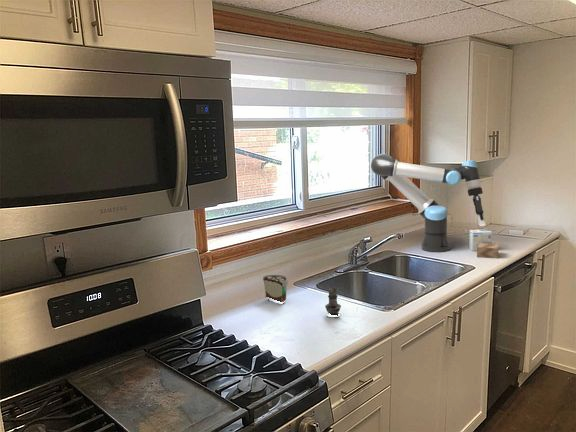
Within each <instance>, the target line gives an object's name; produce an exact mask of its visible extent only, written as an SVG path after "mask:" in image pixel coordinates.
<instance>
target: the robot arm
mask: <svg viewBox="0 0 576 432" xmlns="http://www.w3.org/2000/svg"><path fill="white" fill-rule="evenodd" d="M370 168H371V171H372V172H373V173H374V174H375V175H377V176H379V177H381V179H383V180H384V181H389V182H390V183H391V184H392V185H393V186H394V188H396V189H397V190H398V191H399V192H400V193H401V194H402V195H403V196H404V197H405V198H406V199H407V200H408V201H409V202H411V204H412V205H413V206H414V207H415V208H416V209H417V210H418V214H419V215H420V216H421V217H422V218H423V219H424V236H423V239H422V242H421V250H423V251H425V252H430V253H431V252H432V253H441V252H442V253H443V252H447V251H450V249H451V245H450V241H449V239H448V236H447V235H448V234H447V231H448V230H447V229H448V210H447V208H446V206H443V205H441V204H439V203H438V202H437V201H436V200H435V199H433V198H428V196H427V195H426V194H425V193H424V192H423V191H422V190H421V189H420V188H418V186H417V185H416V184H415V183H414V182H413V181H411V179H417V180H423V181H432V182H437V183H443V184H449V185H451V186H454V185H455V186H456V185H458V184H459V183H460V182H461V181H462V180H465V187H466V189H467V195H468V196H469V197H472V196H473V197H472V203H473V205H474V208H475V209H474V210H475V211H474V212H475V214H476V219H477V224H478V226H479V227H485V226H487V224H486V220H485V219H486V218H485V215H484V209H483V206H482V199H481V196H480V195H481V194H483V193H484V192H483V191H484V190H483V188H482V187H481V186H482V184H481V183H482V180H481V179H480V178H481V177H480V174H479V169H478V168H479V167H478V165H477V161H476V160H474V159H471V160H466V161H462V163H461V166H456V167H451V168H441V167H434V166H428V165H420V164H413V163H409V162H408V163H407V162H402V161H398V160H397V159H395V158H393V157H392V156H391V155H390V154H387V153H380V154H378V155H376V156H375V157H374V158H373V159H372V160H371V163H370Z"/></svg>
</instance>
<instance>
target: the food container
mask: <svg viewBox="0 0 576 432" xmlns="http://www.w3.org/2000/svg"><path fill="white" fill-rule="evenodd" d="M262 282H263V283H264V291H265V293H264V294H265V298H266V297H269V298H272V299H274V300H277V301H280V302H284V301H285V300H286V301H287V287H288V285H289V281H288V278H287V276H285V275H281V274H268V275H263V277H262Z"/></svg>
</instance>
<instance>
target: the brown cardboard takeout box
mask: <svg viewBox="0 0 576 432" xmlns="http://www.w3.org/2000/svg"><path fill="white" fill-rule="evenodd" d="M476 258H486V259H487V258H488V259H498V258H499V244H498V243H492V244H488V243H478V246H477V251H476Z"/></svg>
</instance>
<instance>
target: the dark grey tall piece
mask: <svg viewBox="0 0 576 432" xmlns="http://www.w3.org/2000/svg"><path fill="white" fill-rule="evenodd" d="M337 294H338V293H337V288H336V287H335V286H334V285H333V284H331V286H330V287H329V288H328V296H327V298H328V303H327V304H325V305H324V306H325V309H326V312H327V313H330V314H331V315H337V316H338V314H340V313H339V312H340V311H341V307H342V305H341V304H339V303H338V298H339V297H338V295H337Z"/></svg>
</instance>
